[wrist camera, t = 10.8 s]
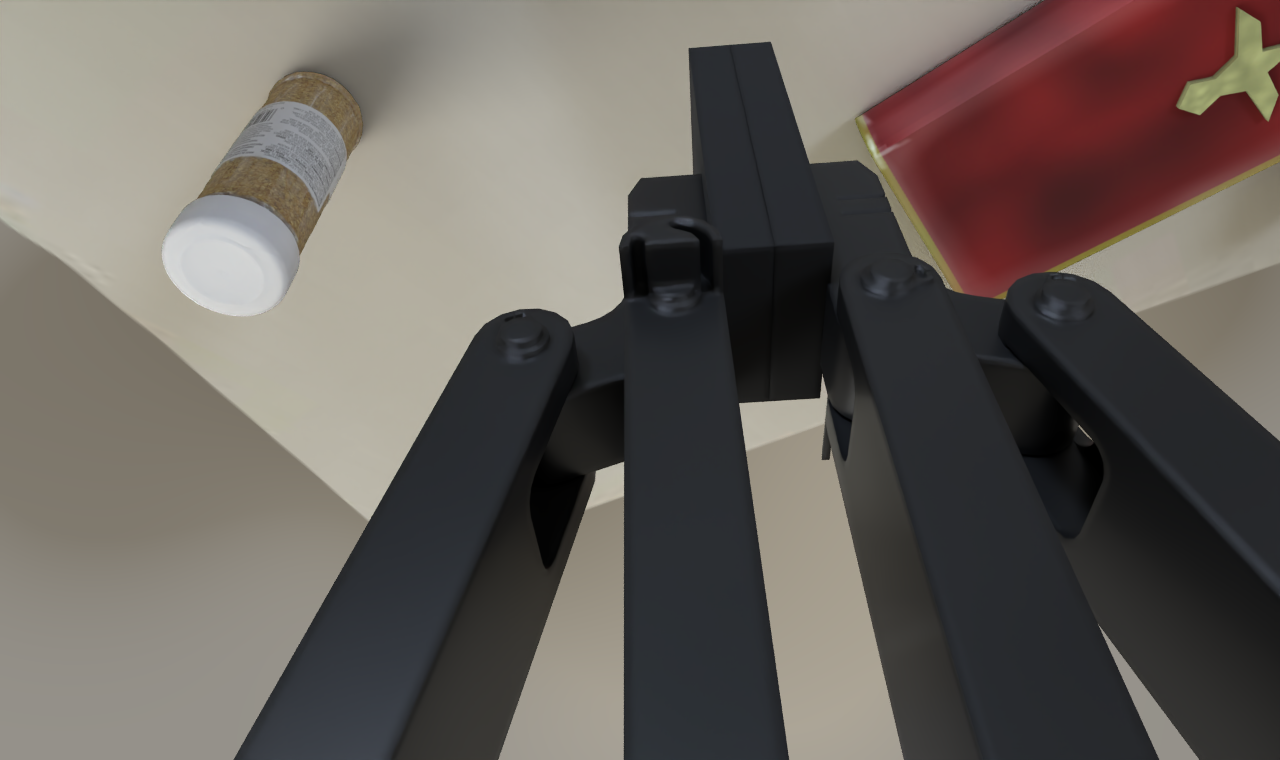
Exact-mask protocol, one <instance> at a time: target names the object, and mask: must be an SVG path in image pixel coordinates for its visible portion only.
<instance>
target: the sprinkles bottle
mask: <svg viewBox="0 0 1280 760" xmlns="http://www.w3.org/2000/svg"><path fill="white" fill-rule="evenodd" d="M362 127H363V122H362V116H361V112H360V108H359V106H358V104H357V103H356V102H355V100H354V99H353V97H352V95H351V94H350V93H349V92H348V91H347V90H346V89H345V88H344V87H343V86H342V85H341V84H339V83H338V82H336V81H335V80H334V79H332V78H329V77H327V76H325V75H322V74H317V73H313V72H295V73H293V74H290V75H287V76H285V77H284V78H283V79H281V80H279V81H278V82H277V83H276V84H275V85H274V87H273V89H272V90H271V91H270V93H269V97H268V100H267V101H266V103H265V104H264V106H263V107H262V108H261V109H260V110H259V111H258V112H257V113H255V115H254V116H253V118H252V119H251V120H250V122H249V123H248V125H247V126H246V127H245V129H244V130H243V131H242V133H241V134H240V135H239V137H238V138H237V140H236V141H235V142H234V144H233V145H232V147H231V148H230V150H229V151H228V153H227V154H226V155H225V157H224V158H223V160H222V161H221V162H220V164H219V165H218V167H217V168H216V169H215V171H214V173H213V174H212V176H211V179H210V180H209V182H208V183H207V184H206V186H205V188H204V190H203V191H202V193H201V194H200V195H199V196H198V198H197V199H196V200H195V201H193V202H191V203H190V204H188V205H187V206H186V207H185V208H184V209H183V210H182V212H181V213H180V214H179V216H178V217H177V218H176V220H175V221H174V223H173V224H172V226H171V228H170V229H169V231H168V233H167V234H166V236H165V238H164V241H163V245H162V261H163V264H164V267H165V270H166V272H167V274H168V276H169V277H170V279H171V280H172V282H173V283H174V284H175V286H176V287H177V288H178V289H179V290H180V291H181V292H182V293H183V294H184V295H186V296H187V297H188V298H190V299H191V300H192V301H194V302H195V303H197V304H199V305H201V306H202V307H205V308H207V309H209V310H212V311H214V312H218V313H221V314H225V315H231V316H254V315H258V314H262V313H264V312H267V311H269V310H271V309H272V308H274V307H275V306H276V305H278V304H279V303H280V301H281V300H282V299H283V298H284V296H285V294H286V293H287V291H288V289H289V287H290V285H291V283H292V281H293V279H294V277H295V275H296V273H297V271H298V267H299V262H300V254H301V252H302V250H303V248H304V246H305V244H306V242H307V240H308V238H309V236H310V234H311V233H312V231H313V229H314V227H315V225H316V224H317V221H318V219H319V217H320V215H321V213H322V211H323V209H324V207H325V206H326V205H327V204H328V202H329V200H330V198H331V196H332V194H333V192H334V190H335V188H336V185H337V183H338V181H339V179H340V178H341V175H342V173H343V171H344V169H345V166H346V161H347V159H348V158H349V156H350V154H351V152H352V151H353V150H354V149H355V147H356V146H357V145H358V143H359V141H360V138H361V135H362Z"/></svg>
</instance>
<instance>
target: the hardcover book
mask: <svg viewBox="0 0 1280 760" xmlns="http://www.w3.org/2000/svg"><path fill="white" fill-rule="evenodd" d="M855 121H856V123H857V126H858V128H859V131H860V133H861V135H862V138H863V140H864V142H865V144H866V146H867V148H868V150H869V152H870V154H871V156H872V158H873V160H874V161H875V163H876V165H877V166H878V168H879V169H880V171H881V173H882V174H883V176H884V178H885V179H886V181H887V183H888V184H889V186H890V187H891V189H892V191H893V192H894V194H895V196H896V197H897V199H898V201H899V202H900V204H901V205H902V207H903V209H904V210H905V212H906V214H907V215H908V217H909V219H910V220H911V222H912V224H913V225H914V227H915V228H916V230H917V232H918V233H919V235H920V237H921V238H922V240H923V242H924V243H925V245H926V246H927V248H928V250H929V251H930V253H931V255H932V256H933V258H934V260H935V261H936V263H937V264H938V266H939V268H940V269H941V271H942V273H943V274H944V276H945V278H946V279H947V281H948V282H949V284H950V286H951V287H952V289H953V291H955V292H959V293H964V294H969V295H974V296H982V297H989V298H996V299H1004V298H1006V295H1007V291H1008V289H1009V288H1010V287H1011V285H1012V284H1013V283H1014V282H1015V281H1016V280H1017V279H1020V278H1022V277H1025V276H1027V275H1030V274H1033V273H1044V272H1058V271H1060V270H1062V269H1064V268H1066V267H1068V266H1070V265H1072V264H1074V263H1076V262H1078V261H1080V260H1082V259H1084V258H1086V257H1088V256H1090V255H1092V254H1095V253H1097V252H1099V251H1101V250H1103V249H1105V248H1107V247H1109V246H1111V245H1113V244H1115V243H1117V242H1119V241H1121V240H1123V239H1125V238H1127V237H1129V236H1131V235H1133V234H1135V233H1137V232H1139V231H1141V230H1143V229H1145V228H1147V227H1149V226H1151V225H1153V224H1155V223H1157V222H1159V221H1161V220H1163V219H1165V218H1167V217H1169V216H1171V215H1173V214H1175V213H1177V212H1179V211H1181V210H1183V209H1185V208H1187V207H1189V206H1191V205H1193V204H1195V203H1197V202H1199V201H1202V200H1204V199H1206V198H1208V197H1210V196H1212V195H1214V194H1216V193H1218V192H1220V191H1222V190H1224V189H1226V188H1228V187H1230V186H1232V185H1234V184H1236V183H1238V182H1240V181H1242V180H1244V179H1246V178H1248V177H1250V176H1252V175H1254V174H1256V173H1258V172H1260V171H1262V170H1264V169H1266V168H1268V167H1270V166H1272V165H1274V164H1276V163H1278V162H1280V0H1045V1H1043V2H1041V3H1040V4H1038V5H1037V6H1035V7H1033V8H1032V9H1030V10H1029V11H1027V12H1025V13H1024V14H1022V15H1021V16H1019V17H1017V18H1016V19H1014V20H1013V21H1011V22H1009V23H1008V24H1006V25H1005V26H1003V27H1001V28H1000V29H998V30H997V31H995V32H993V33H992V34H990V35H989V36H987V37H985V38H984V39H982V40H980V41H979V42H977V43H976V44H974V45H972V46H971V47H969V48H968V49H966V50H964V51H963V52H961V53H960V54H958V55H956V56H955V57H953V58H952V59H950V60H948V61H947V62H945V63H944V64H942V65H940V66H939V67H937V68H936V69H934V70H932V71H931V72H929V73H928V74H926V75H924V76H923V77H921V78H920V79H918V80H916V81H915V82H913V83H912V84H910V85H908V86H907V87H905V88H904V89H902V90H900V91H899V92H897V93H896V94H894V95H892V96H891V97H889V98H888V99H886V100H884V101H883V102H881V103H880V104H878V105H876V106H875V107H873V108H872V109H870V110H868V111H867V112H865V113H864V114H862V115H860V116H859V117H857V118H856V119H855Z"/></svg>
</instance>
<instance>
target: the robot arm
mask: <svg viewBox="0 0 1280 760" xmlns="http://www.w3.org/2000/svg"><path fill="white" fill-rule="evenodd" d="M689 70H690V98H691V125H692V152H693V175H681V176H667V177H654V178H641V179H640V180H639V182H638V183H637V184H636V186H635V187H634V188H633V190H632V191H631V192H630V194H629V195H628V231H627V232H626V233H625V234H624V235H623V237H622V239H621V242H620V245H619V253H620V262H621V271H622V281H623V290H624V298H623V300H622V302H621V303H620V304H619V305H618V306H617V307H616V308H615V309H613V310H612V311H611V312H609V313H607V314H606V315H604V316H602V317H601V318H598V319H596V320H593V321H590V322H588V323H584V324H581V325H577V326H574V327H571V326H570V324H569V322H568V320H566V319H564V318H563V317H561V316H560V315H558V314H557V313H555V312H551V311H546V310H542V309H520V310H516V311H512V312H509V313H505V314H502V315H500V316H498V317H496V318H495V319H493V320H491V321H489V322H488V323H486V324H485V325H484V326H483V327H482V328H481V329H480V330H479V332H478V333H477V334H476V335H475V336H474V338H473V340H472V342H471V343H470V345H469V347H468V349H467V350H466V352H465V354H464V356H463V357H462V359H461V361H460V363H459V364H458V366H457V368H456V370H455V371H454V373H453V375H452V377H451V379H450V380H449V382H448V384H447V386H446V387H445V389H444V391H443V393H442V394H441V396H440V398H439V400H438V401H437V403H436V405H435V407H434V408H433V410H432V412H431V414H430V415H429V417H428V419H427V421H426V422H425V424H424V426H423V428H422V429H421V431H420V433H419V435H418V437H417V438H416V440H415V442H414V444H413V445H412V447H411V449H410V451H409V452H408V454H407V456H406V458H405V459H404V461H403V463H402V465H401V466H400V468H399V470H398V472H397V473H396V475H395V477H394V479H393V480H392V482H391V484H390V486H389V487H388V489H387V491H386V493H385V495H384V496H383V498H382V500H381V502H380V503H379V505H378V507H377V509H376V510H375V512H374V514H373V516H372V517H371V519H370V521H369V523H368V524H367V526H366V528H365V530H364V531H363V533H362V535H361V537H360V538H359V540H358V542H357V544H356V545H355V547H354V549H353V551H352V553H351V554H350V556H349V558H348V560H347V561H346V563H345V565H344V567H343V568H342V570H341V572H340V574H339V575H338V577H337V579H336V581H335V582H334V584H333V586H332V588H331V590H330V591H329V593H328V595H327V597H326V598H325V600H324V602H323V603H322V605H321V607H320V609H319V611H318V612H317V614H316V616H315V618H314V619H313V621H312V623H311V625H310V627H309V628H308V630H307V632H306V633H305V635H304V637H303V639H302V640H301V642H300V644H299V646H298V647H297V649H296V651H295V653H294V655H293V656H292V658H291V660H290V661H289V663H288V665H287V667H286V669H285V670H284V672H283V674H282V676H281V677H280V679H279V681H278V683H277V684H276V686H275V688H274V690H273V691H272V693H271V695H270V697H269V698H268V700H267V702H266V704H265V705H264V707H263V709H262V711H261V712H260V714H259V716H258V718H257V719H256V721H255V723H254V725H253V727H252V728H251V730H250V732H249V734H248V735H247V737H246V739H245V741H244V743H243V744H242V746H241V748H240V750H239V751H238V753H237V755H236V757H235V758H234V760H498V759H499V755H500V753H501V750H502V747H503V744H504V741H505V738H506V735H507V733H508V730H509V727H510V724H511V721H512V718H513V715H514V712H515V710H516V707H517V704H518V701H519V698H520V695H521V692H522V689H523V687H524V683H525V681H526V678H527V675H528V672H529V669H530V666H531V663H532V661H533V658H534V655H535V652H536V649H537V646H538V643H539V641H540V638H541V635H542V632H543V629H544V626H545V623H546V620H547V618H548V614H549V612H550V609H551V606H552V603H553V600H554V597H555V595H556V591H557V589H558V586H559V583H560V580H561V577H562V574H563V571H564V569H565V566H566V563H567V560H568V557H569V554H570V551H571V548H572V546H573V543H574V540H575V537H576V533H577V531H578V528H579V525H580V523H581V520H582V517H583V514H584V511H585V508H586V505H587V502H588V500H589V497H590V494H591V491H592V488H593V485H594V482H595V474H596V471H597V470H600V469H603V468H606V467H609V466H612V465H615V464H618V463H621V462H624V760H789V756H788V749H787V742H786V734H785V727H784V720H783V713H782V706H781V699H780V692H779V685H778V677H777V670H776V663H775V656H774V649H773V643H772V635H771V628H770V621H769V613H768V606H767V599H766V593H765V585H764V578H763V571H762V564H761V557H760V549H759V542H758V535H757V528H756V521H755V514H754V507H753V500H752V492H751V486H750V478H749V471H748V464H747V457H746V450H745V443H744V435H743V428H742V421H741V414H740V407H739V403H748V402H764V401H781V400H797V399H814V398H820V392H821V381H822V374H823V378H824V382H825V386H826V390H827V394H828V398H827V408H826V418H825V428H824V438H823V448H822V460H829V459H830V450H831V449H832V454H833V458H834V462H835V466H836V470H837V474H838V479H839V484H840V488H841V492H842V496H843V501H844V505H845V509H846V514H847V518H848V522H849V526H850V530H851V535H852V539H853V543H854V548H855V552H856V556H857V560H858V565H859V569H860V573H861V578H862V582H863V586H864V591H865V594H866V598H867V603H868V608H869V612H870V616H871V621H872V625H873V629H874V633H875V638H876V642H877V646H878V651H879V654H880V659H881V663H882V668H883V672H884V676H885V680H886V685H887V689H888V693H889V698H890V702H891V706H892V710H893V714H894V719H895V723H896V728H897V732H898V736H899V741H900V744H901V749H902V753H903V757H904V760H1159V758H1158V756H1157V754H1156V752H1155V749H1154V747H1153V745H1152V743H1151V740H1150V738H1149V736H1148V734H1147V732H1146V729H1145V727H1144V725H1143V723H1142V721H1141V718H1140V716H1139V714H1138V712H1137V710H1136V707H1135V705H1134V703H1133V701H1132V698H1131V696H1130V694H1129V692H1128V690H1127V687H1126V685H1125V683H1124V681H1123V679H1122V676H1121V674H1120V672H1119V670H1118V667H1117V665H1116V663H1115V661H1114V659H1113V657H1112V654H1111V652H1110V650H1109V648H1108V645H1107V643H1106V641H1105V639H1104V637H1103V634H1102V632H1101V630H1100V628H1099V626H1100V627H1101V628H1102V629H1103V631H1104V632H1105V634H1106V635H1107V636H1108V638H1109V639H1110V640H1111V642H1112V643H1113V644H1114V646H1115V647H1116V648H1117V650H1118V651H1119V652H1120V654H1121V655H1122V656H1123V658H1124V659H1125V660H1126V662H1127V663H1128V664H1129V666H1130V667H1131V668H1132V670H1133V671H1134V672H1135V674H1136V675H1137V677H1138V678H1139V679H1140V680H1141V682H1142V683H1143V684H1144V686H1145V687H1146V688H1147V690H1148V691H1149V692H1150V694H1151V695H1152V697H1153V698H1154V699H1155V701H1156V702H1157V703H1158V705H1159V706H1160V707H1161V709H1162V710H1163V711H1164V713H1165V714H1166V715H1167V717H1168V718H1169V719H1170V721H1171V722H1172V724H1173V725H1174V726H1175V727H1176V729H1177V730H1178V732H1179V733H1180V734H1181V736H1182V737H1183V738H1184V739H1185V741H1186V742H1187V744H1188V745H1189V746H1190V748H1191V749H1192V750H1193V752H1194V753H1195V754H1196V756H1197V757H1198V758H1199V760H1280V441H1279V440H1278V439H1276V438H1275V437H1274V436H1273V435H1272V434H1271V433H1270V432H1268V431H1267V430H1266V429H1265V428H1264V427H1263V426H1262V425H1261V424H1259V423H1258V422H1257V421H1256V420H1255V419H1254V418H1253V417H1251V416H1250V415H1249V414H1248V413H1247V412H1246V411H1245V410H1243V409H1242V408H1241V407H1240V406H1239V405H1238V404H1237V403H1236V402H1235V401H1233V400H1232V399H1231V398H1230V397H1229V396H1228V395H1227V394H1225V393H1224V392H1223V391H1222V390H1221V389H1220V388H1219V387H1218V386H1216V385H1215V384H1214V383H1213V382H1212V381H1211V380H1210V379H1209V378H1207V377H1206V376H1205V375H1204V374H1203V373H1202V372H1201V371H1199V370H1198V369H1197V368H1196V367H1195V366H1194V365H1193V364H1192V363H1190V362H1189V361H1188V360H1187V359H1186V358H1185V357H1184V356H1182V355H1181V354H1180V353H1179V352H1178V351H1177V350H1176V349H1174V348H1173V347H1172V346H1171V345H1170V344H1169V343H1168V342H1167V341H1165V340H1164V339H1163V338H1162V337H1161V336H1160V335H1158V333H1156V332H1155V331H1154V330H1153V329H1152V328H1151V327H1150V326H1148V325H1147V324H1146V323H1145V322H1144V321H1143V320H1141V318H1139V317H1138V316H1137V315H1136V314H1135V313H1134V312H1133V311H1131V310H1130V309H1129V308H1128V307H1127V306H1126V305H1125V304H1124V303H1122V302H1121V301H1120V300H1119V299H1118V298H1117V297H1116V296H1114V295H1113V294H1112V293H1111V292H1110V291H1108V290H1107V289H1105V288H1104V287H1102V286H1100V285H1099V284H1097V283H1096V282H1094V281H1091V280H1088V279H1086V278H1083V277H1080V276H1077V275H1074V274H1067V273H1058V272H1044V273H1033V274H1030V275H1027V276H1025V277H1022V278H1020V279H1017V280H1016V281H1015V282H1014V283H1013V284H1012V285H1011V287H1010V288H1009V289H1008V291H1007V295H1006V299H1005V300H1004V299H996V298H989V297H982V296H974V295H969V294H964V293H959V292H955V291H952V290H950V289H947V288H946V287H945V285H944V283H943V281H942V279H941V277H940V275H939V274H938V273H937V272H936V271H935V269H934V268H933V267H932V266H931V265H929V264H927V263H925V262H924V261H922V260H920V259H918V258H916V257H912V255H911V253H910V251H909V248H908V246H907V244H906V241H905V239H904V237H903V234H902V232H901V230H900V227H899V225H898V223H897V220H896V218H895V216H894V213H893V212H891V206H890V204H889V202H888V199H887V197H885V192H884V190H883V188H882V185H881V183H880V181H879V178H878V176H877V175H876V174H875V173H873V172H872V171H871V170H869V169H868V168H867V167H865V166H864V165H863V164H861V163H860V162H859V161H844V162H830V163H816V164H809V161H808V158H807V154H806V151H805V148H804V145H803V142H802V139H801V136H800V132H799V129H798V126H797V123H796V120H795V117H794V114H793V110H792V107H791V104H790V101H789V98H788V95H787V92H786V88H785V85H784V82H783V79H782V76H781V73H780V69H779V66H778V63H777V60H776V57H775V54H774V51H773V47H772V44H771V42H763V43H750V44H737V45H724V46H712V47H699V48H689ZM1079 425H1080V426H1081V427H1082V428H1083V430H1084V431H1085V432H1086V433H1087V434H1088V435H1089V436H1090V437H1091V438H1092V440H1093V441H1092V440H1091V439H1090V438H1089V437H1087V436H1086V435H1085V434H1084V433H1083V431H1082V430H1081V429H1080V428H1079V427H1078V426H1079ZM1098 624H1099V626H1098Z"/></svg>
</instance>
